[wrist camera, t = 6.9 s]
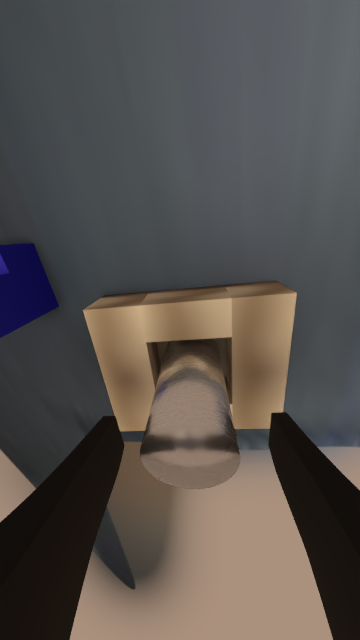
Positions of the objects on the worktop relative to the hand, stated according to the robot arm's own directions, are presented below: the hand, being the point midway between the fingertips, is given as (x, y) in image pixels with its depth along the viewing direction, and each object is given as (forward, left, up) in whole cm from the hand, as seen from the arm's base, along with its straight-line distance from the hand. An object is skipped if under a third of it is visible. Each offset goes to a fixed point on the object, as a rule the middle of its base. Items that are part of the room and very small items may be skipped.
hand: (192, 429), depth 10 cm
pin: (0, 0, -7) cm, 7 cm away
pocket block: (0, 0, -7) cm, 7 cm away
